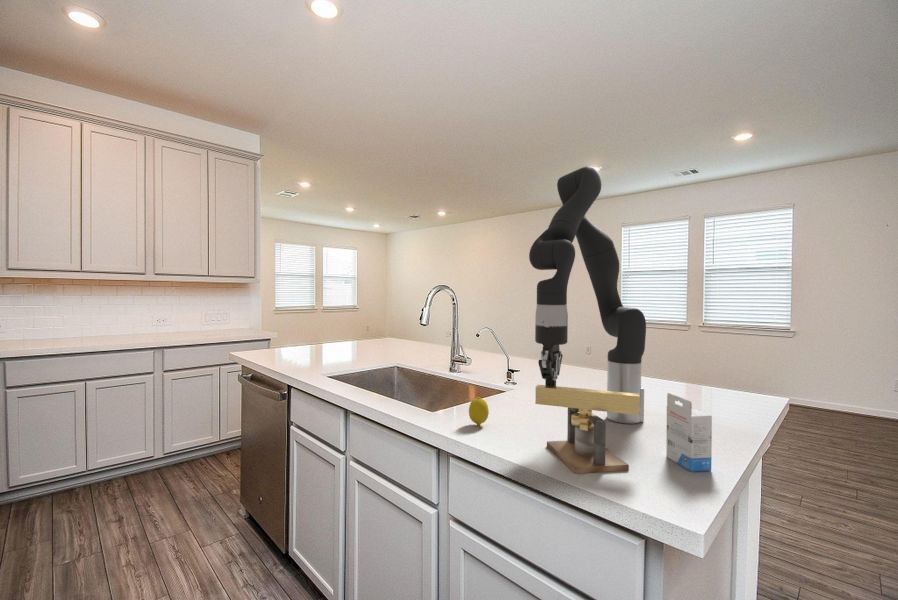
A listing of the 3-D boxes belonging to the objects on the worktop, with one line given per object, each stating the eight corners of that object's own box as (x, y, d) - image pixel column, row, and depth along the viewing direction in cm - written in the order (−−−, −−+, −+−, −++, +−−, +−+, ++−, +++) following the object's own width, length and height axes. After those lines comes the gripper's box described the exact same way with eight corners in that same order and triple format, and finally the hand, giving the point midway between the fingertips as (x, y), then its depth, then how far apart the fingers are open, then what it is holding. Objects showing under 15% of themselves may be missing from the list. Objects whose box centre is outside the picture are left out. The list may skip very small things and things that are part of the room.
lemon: (487, 429, 110) (487, 400, 110) (467, 427, 111) (467, 399, 111) (489, 423, 115) (489, 395, 115) (470, 421, 117) (470, 394, 116)
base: (593, 444, 100) (593, 402, 100) (628, 470, 85) (629, 421, 85) (546, 446, 98) (547, 403, 98) (575, 473, 83) (575, 423, 83)
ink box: (712, 471, 85) (713, 401, 84) (690, 472, 84) (691, 401, 84) (685, 455, 93) (686, 391, 93) (665, 456, 93) (666, 391, 92)
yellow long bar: (539, 412, 100) (540, 381, 100) (637, 424, 92) (638, 390, 92) (532, 424, 91) (532, 390, 91) (640, 438, 82) (640, 400, 82)
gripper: (543, 321, 105) (543, 387, 105) (527, 324, 93) (526, 399, 93) (573, 322, 101) (572, 391, 101) (560, 326, 89) (559, 404, 90)
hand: (550, 395), depth 97 cm, fingers closed
